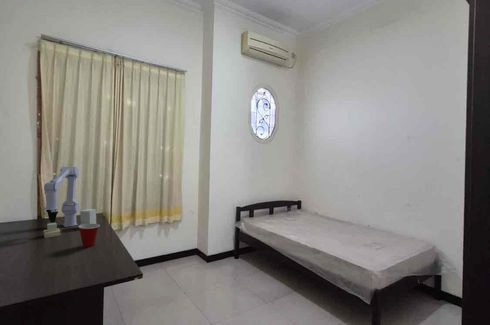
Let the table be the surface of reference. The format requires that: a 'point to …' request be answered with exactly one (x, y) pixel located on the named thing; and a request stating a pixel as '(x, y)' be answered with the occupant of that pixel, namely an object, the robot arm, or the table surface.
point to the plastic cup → (88, 234)
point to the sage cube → (51, 227)
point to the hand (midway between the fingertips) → (52, 221)
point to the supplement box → (88, 216)
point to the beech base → (51, 233)
